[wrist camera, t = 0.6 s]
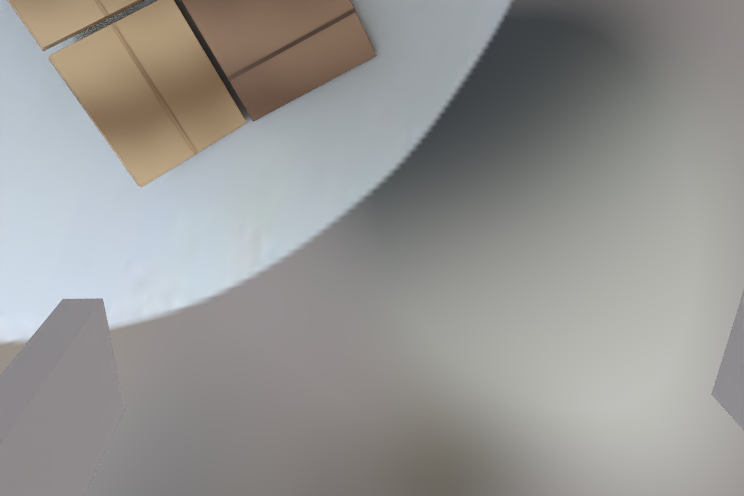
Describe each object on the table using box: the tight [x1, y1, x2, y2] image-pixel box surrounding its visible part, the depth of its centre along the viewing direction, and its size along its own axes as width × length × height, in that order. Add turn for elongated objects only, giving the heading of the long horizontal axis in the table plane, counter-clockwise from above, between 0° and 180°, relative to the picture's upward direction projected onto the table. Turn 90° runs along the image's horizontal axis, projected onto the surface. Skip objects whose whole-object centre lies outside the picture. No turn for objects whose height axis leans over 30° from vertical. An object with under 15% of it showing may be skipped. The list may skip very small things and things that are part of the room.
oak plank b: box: [49, 0, 247, 187], centre depth 31 cm, size 7×6×1 cm
